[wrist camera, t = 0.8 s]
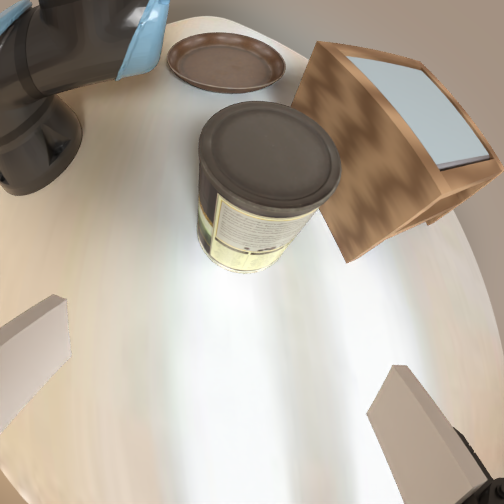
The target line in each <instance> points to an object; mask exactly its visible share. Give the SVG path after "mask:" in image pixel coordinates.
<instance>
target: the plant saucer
mask: <svg viewBox="0 0 504 504" xmlns="http://www.w3.org/2000/svg"><path fill="white" fill-rule="evenodd" d="M167 62H168V64H169V66H170V68H171V69H172V70H173V71H174V73H175V74H177V75H178V76H179V77H180V78H181V79H183V80H184V81H186V82H188V83H189V84H191V85H194V86H196V87H198V88H201V89H204V90H208V91H213V92H218V93H246V92H251V91H256V90H259V89H262V88H265V87H267V86H269V85H271V84H273V83H274V82H276V81H277V80H279V79H280V78H281V77H282V76H283V75H284V73H285V69H286V65H285V61H284V59H283V58H282V56H281V55H280V54H279V53H278V52H277V51H276V50H275V49H274V48H272V47H271V46H269V45H267V44H266V43H264V42H262V41H259V40H257V39H254V38H251V37H248V36H244V35H239V34H234V33H221V32H216V33H203V34H198V35H194V36H190V37H188V38H185V39H183V40H181V41H179V42H177V43H176V44H175V45H174V46H172V48H171V49H170V50H169V52H168V55H167Z"/></svg>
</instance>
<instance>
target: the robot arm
mask: <svg viewBox="0 0 504 504" xmlns="http://www.w3.org/2000/svg"><path fill="white" fill-rule="evenodd" d="M169 3H170V0H39V6H36V7H34V8H32V7H31V6H32V2H30V0H22V1H19V2H17V3H15V4H14V5H12V6H10V7H9V8H7V9H6V10H4V11H3V12H1V13H0V185H1V186H2V187H3V188H4V189H5V191H7V192H8V193H10V194H12V195H17V196H21V195H27V194H31V193H33V192H36V191H38V190H40V189H42V188H43V187H45V186H46V185H48V184H49V183H51V182H52V181H53V180H54V179H56V178H57V177H58V176H59V175H60V174H61V173H62V172H63V171H64V170H65V169H66V167H67V166H68V165H69V164H70V162H71V161H72V160H73V158H74V156H75V155H76V153H77V151H78V149H79V146H80V143H81V139H82V130H81V126H80V123H79V121H78V118H77V116H76V114H75V113H74V112H73V111H72V110H71V109H70V108H69V107H68V106H67V105H66V104H65V103H64V102H63V100H62V99H61V98H60V97H59V96H58V95H57V93H61V92H64V91H68V90H71V89H75V88H79V87H83V86H87V85H91V84H95V83H99V82H104V81H109V80H114V79H115V81H118V80H120V79H121V78H124V77H129V76H134V75H139V74H144V73H147V72H149V71H151V70H152V69H154V67H155V66H156V65H157V64H158V62H159V59H160V55H161V50H162V44H163V38H164V33H165V27H166V21H167V15H168V9H169ZM71 356H72V352H71V344H70V335H69V324H68V311H67V299H65V298H62V297H59V296H57V295H54V294H52V295H51V296H49V297H48V298H46V299H44V300H43V301H41V302H39V303H38V304H36V305H35V306H33V307H31V308H30V309H28V310H27V311H25V312H24V313H22V314H20V315H19V316H17V317H16V318H14V319H13V320H11V321H10V322H8V323H7V324H5V325H4V326H2V327H1V328H0V434H1V433H2V432H3V431H4V430H5V428H6V427H7V426H8V425H9V424H10V422H11V421H12V420H13V419H14V418H15V417H16V415H17V414H18V413H19V412H20V411H21V410H22V409H23V408H24V406H25V405H26V404H27V403H28V402H29V401H30V400H31V399H32V397H33V396H34V395H35V394H36V393H37V392H38V391H39V390H40V389H41V388H42V387H43V385H44V384H45V383H46V382H47V381H48V380H49V379H50V378H51V377H52V376H53V375H54V374H55V373H56V372H57V371H58V369H59V368H60V367H61V366H62V365H63V364H64V363H65V362H66V361H67V360H68V359H69V358H70V357H71ZM366 414H367V416H368V419H369V421H370V423H371V425H372V428H373V430H374V432H375V434H376V437H377V439H378V441H379V444H380V446H381V448H382V451H383V453H384V455H385V458H386V460H387V462H388V465H389V467H390V469H391V472H392V474H393V477H394V479H395V481H396V484H397V486H398V489H399V491H400V494H401V496H402V499H403V501H404V504H504V478H497V479H495V480H493V478H492V477H491V476H490V474H489V473H488V471H487V470H486V468H485V467H484V465H483V464H482V462H481V461H480V459H479V458H478V456H477V455H476V453H474V450H473V449H472V447H471V446H469V443H468V442H467V440H466V439H465V437H464V436H463V435H462V434H461V433H460V432H459V431H458V430H456V429H455V428H454V427H452V426H451V424H450V423H449V421H448V420H447V419H446V417H445V416H444V414H443V413H442V412H441V410H440V409H439V408H438V406H437V405H436V403H435V402H434V401H433V399H432V398H431V397H430V395H429V394H428V393H427V391H426V390H425V389H424V387H423V386H422V385H421V383H420V382H419V381H418V379H417V378H416V377H415V376H414V374H413V373H412V372H411V370H410V369H409V368H408V366H405V365H392V367H391V369H390V371H389V373H388V375H387V377H386V379H385V381H384V383H383V385H382V387H381V389H380V391H379V392H378V394H377V396H376V398H375V400H374V401H373V403H372V405H371V407H370V408H369V410H368V412H367V413H366Z"/></svg>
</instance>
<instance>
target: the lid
mask: <svg viewBox="0 0 504 504" xmlns="http://www.w3.org/2000/svg"><path fill="white" fill-rule="evenodd" d="M346 57H347V58H348V59H349V60H350V61H351V62H352V63H353V64H354V65H355V66H356V67H357V68H358V69H359V70H360V71H361V72H362V73H363V74H364V75H365V76H366V77H367V78H368V79H369V80H370V81H371V82H372V83H373V84H374V85H375V86H376V88H377V89H378V90H379V91H380V92H381V93H382V94H383V95H384V96H385V98H386V99H387V100H388V101H389V102H390V103H391V105H392V106H393V107H394V108H395V109H396V111H397V112H398V113H399V114H400V116H401V117H402V118H403V119H404V121H405V122H406V123H407V124H408V126H409V127H410V128H411V130H412V131H413V132H414V134H415V135H416V136H417V138H418V139H419V140H420V142H421V143H422V145H423V146H424V148H425V149H426V150H427V152H428V153H429V155H430V156H431V158H432V159H433V161H434V162H435V164H436V165H437V167H438V169H439V170H440V172H441V171H445V170H449V169H453V168H457V167H462V166H466V165H470V164H474V163H479V162H483V161H487V160H489V159H490V156H489V154H488V152H487V151H486V149H485V148H484V146H483V145H482V143H481V142H480V140H479V139H478V137H477V136H476V135H475V133H474V132H473V130H472V129H471V128H470V126H469V125H468V124H467V122H466V121H465V120H464V118H463V117H462V116H461V115H460V113H459V112H458V111H457V110H456V108H455V107H454V106H453V105H452V103H451V102H450V101H449V100H448V99H447V98H446V96H445V95H444V94H443V93H442V92H441V91H440V90H439V88H438V87H437V86H436V85H435V84H434V83H433V82H432V81H431V80H430V79H429V78H428V77H427V76H426V75H425V74H424V73H423V72H422V71H421V70H417V69H413V68H409V67H405V66H400V65H396V64H391V63H386V62H381V61H376V60H370V59H364V58H357V57H350V56H346Z"/></svg>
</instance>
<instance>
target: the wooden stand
mask: <svg viewBox="0 0 504 504" xmlns="http://www.w3.org/2000/svg"><path fill="white" fill-rule="evenodd" d="M346 56H350V57H357V58H364V59H370V60H376V61H381V62H386V63H391V64H396V65H400V66H405V67H409V68H413V69H417V70H421V71H422V72H423V73H424V74H425V75H426V76H427V77H428V78H429V79H430V80H431V81H432V82H433V83H434V84H435V85H436V86H437V87H438V88H439V90H440V91H441V92H442V93H443V94H444V95H445V96H446V98H447V99H448V100H449V101H450V102H451V103H452V105H453V106H454V107H455V108H456V110H457V111H458V112H459V113H460V115H461V116H462V117H463V118H464V120H465V121H466V122H467V124H468V125H469V126H470V128H471V129H472V130H473V132H474V133H475V135H476V136H477V137H478V139H479V140H480V142H481V143H482V145H483V146H484V148H485V149H486V151H487V152H488V154H489V156H490V159H489V160H487V161H483V162H479V163H474V164H470V165H466V166H462V167H457V168H453V169H449V170H445V171H441V172H440V170H439V169H438V167H437V165H436V164H435V162H434V161H433V159H432V158H431V156H430V155H429V153H428V152H427V150H426V149H425V148H424V146H423V145H422V143H421V142H420V140H419V139H418V138H417V136H416V135H415V134H414V132H413V131H412V130H411V128H410V127H409V126H408V124H407V123H406V122H405V121H404V119H403V118H402V117H401V116H400V114H399V113H398V112H397V111H396V109H395V108H394V107H393V106H392V105H391V103H390V102H389V101H388V100H387V99H386V98H385V96H384V95H383V94H382V93H381V92H380V91H379V90H378V89H377V88H376V86H375V85H374V84H373V83H372V82H371V81H370V80H369V79H368V78H367V77H366V76H365V75H364V74H363V73H362V72H361V71H360V70H359V69H358V68H357V67H356V66H355V65H354V64H353V63H352V62H351V61H350V60H349V59H348V58H347V57H346ZM291 108H294V109H296V110H298V111H300V112H302V113H304V114H305V115H307V116H308V117H310V118H311V119H313V120H314V121H315V122H317V123H318V124H319V125H320V126H321V127H322V128H323V129H324V130H325V131H326V132H327V133H328V134H329V136H330V137H331V139H332V140H333V142H334V144H335V146H336V148H337V150H338V152H339V155H340V160H341V167H342V172H341V178H340V182H339V184H338V187H337V189H336V191H335V192H334V193H333V195H332V196H331V197H330V198H329V199H328V200H327V201H326V202H325V203H324V204H322V205H321V206H320V207H319V210H320V212H321V213H322V215H323V217H324V219H325V221H326V223H327V225H328V227H329V229H330V231H331V233H332V235H333V237H334V239H335V241H336V243H337V245H338V247H339V249H340V251H341V253H342V255H343V257H344V259H345V261H346V263H349V262H351V261H353V260H356V259H358V258H359V257H361V256H362V255H364V254H365V253H367V252H368V251H370V250H371V249H373V248H374V247H376V246H377V245H378V244H380V243H381V242H383V241H384V240H386V239H388V238H390V237H393V236H395V235H397V234H399V233H401V232H404V231H406V230H408V229H410V228H412V227H415V226H417V225H419V224H421V223H423V222H425V221H426V223H427V225H430V224H432V223H434V222H435V221H437V220H438V219H440V218H441V217H443V216H444V215H446V214H447V213H449V212H450V211H451V210H453V209H454V208H456V207H457V206H458V205H460V204H461V203H462V202H464V201H465V200H467V199H468V198H469V197H471V196H472V195H474V194H475V193H476V192H478V191H479V190H480V189H482V188H483V187H484V186H486V185H487V184H488V183H490V182H491V181H492V180H493V179H495V178H496V177H497V176H499V175H500V174H501V173H502V172H504V167H503V165H502V164H501V162H500V160H499V159H498V157H497V156H496V154H495V152H494V151H493V149H492V148H491V146H490V145H489V143H488V142H487V140H486V139H485V137H484V136H483V134H482V133H481V132H480V130H479V129H478V127H477V126H476V125H475V123H474V122H473V121H472V119H471V118H470V117H469V115H468V114H467V113H466V112H465V110H464V109H463V108H462V107H461V105H460V104H459V103H458V102H457V101H456V99H455V98H454V97H453V96H452V95H451V94H450V92H449V91H448V90H447V89H446V88H445V87H444V86H443V85H442V84H441V82H440V81H439V80H438V79H437V78H436V77H435V76H434V75H433V74H432V73H431V72H430V71H429V70H428V69H427V68H426V67H425V66H424V65H423V64H422V63H421V62H420V61H416V60H413V59H410V58H406V57H402V56H398V55H395V54H391V53H386V52H381V51H378V50H373V49H368V48H362V47H357V46H351V45H345V44H338V43H330V42H322V41H317V42H316V45H315V47H314V50H313V52H312V55H311V57H310V60H309V62H308V65H307V67H306V70H305V72H304V75H303V77H302V80H301V82H300V85H299V87H298V90H297V92H296V95H295V97H294V100H293V102H292V105H291Z"/></svg>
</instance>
